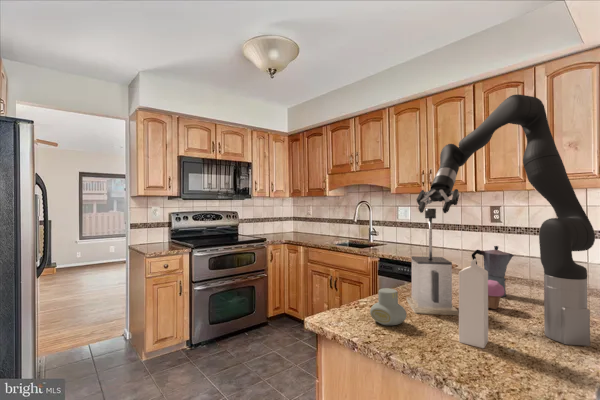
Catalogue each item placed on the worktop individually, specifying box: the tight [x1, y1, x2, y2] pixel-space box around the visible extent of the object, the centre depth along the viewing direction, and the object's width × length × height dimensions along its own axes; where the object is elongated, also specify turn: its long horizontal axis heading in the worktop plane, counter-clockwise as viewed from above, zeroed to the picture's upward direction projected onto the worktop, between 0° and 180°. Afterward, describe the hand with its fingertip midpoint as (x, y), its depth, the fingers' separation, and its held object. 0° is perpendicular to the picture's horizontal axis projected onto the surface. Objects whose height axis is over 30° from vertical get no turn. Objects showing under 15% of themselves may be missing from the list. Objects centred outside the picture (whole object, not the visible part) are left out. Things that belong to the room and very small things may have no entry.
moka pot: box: [471, 245, 515, 298], centre depth 132 cm, size 10×15×20 cm, turn 78°
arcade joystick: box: [406, 256, 459, 316], centre depth 114 cm, size 14×14×17 cm
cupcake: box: [488, 280, 506, 310], centre depth 114 cm, size 9×9×10 cm
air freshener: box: [369, 287, 407, 327], centre depth 100 cm, size 11×8×10 cm
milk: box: [458, 258, 489, 349], centre depth 86 cm, size 6×6×22 cm
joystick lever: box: [424, 208, 437, 260], centre depth 114 cm, size 9×9×24 cm
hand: (432, 211), depth 115 cm, fingers open, 8 cm apart
